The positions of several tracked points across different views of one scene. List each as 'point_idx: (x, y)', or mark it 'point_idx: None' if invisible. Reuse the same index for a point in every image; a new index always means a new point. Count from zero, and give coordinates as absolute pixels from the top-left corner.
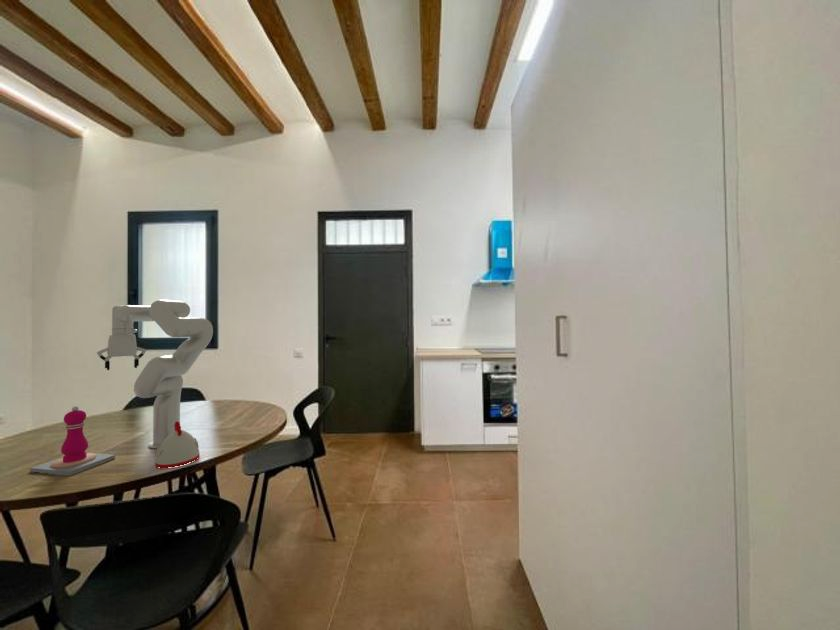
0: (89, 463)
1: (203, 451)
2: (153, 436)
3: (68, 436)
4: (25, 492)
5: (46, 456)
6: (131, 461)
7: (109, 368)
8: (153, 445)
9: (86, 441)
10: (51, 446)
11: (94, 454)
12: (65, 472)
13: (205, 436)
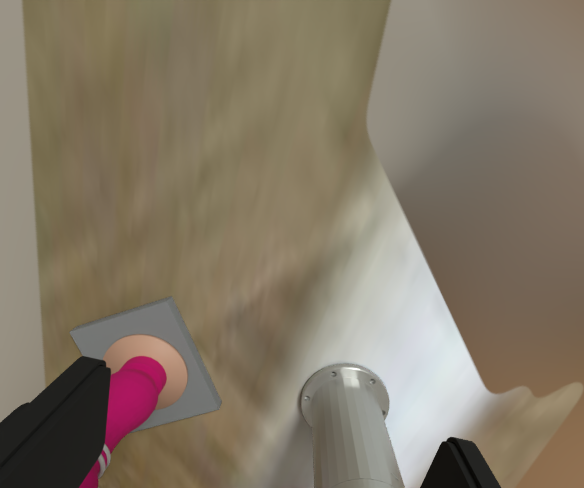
0: (166, 419)
1: None
2: (312, 417)
3: None
4: None
5: (111, 218)
6: (238, 449)
7: (90, 468)
8: (305, 413)
9: (143, 422)
10: (130, 98)
11: (183, 377)
12: None
13: (432, 433)
